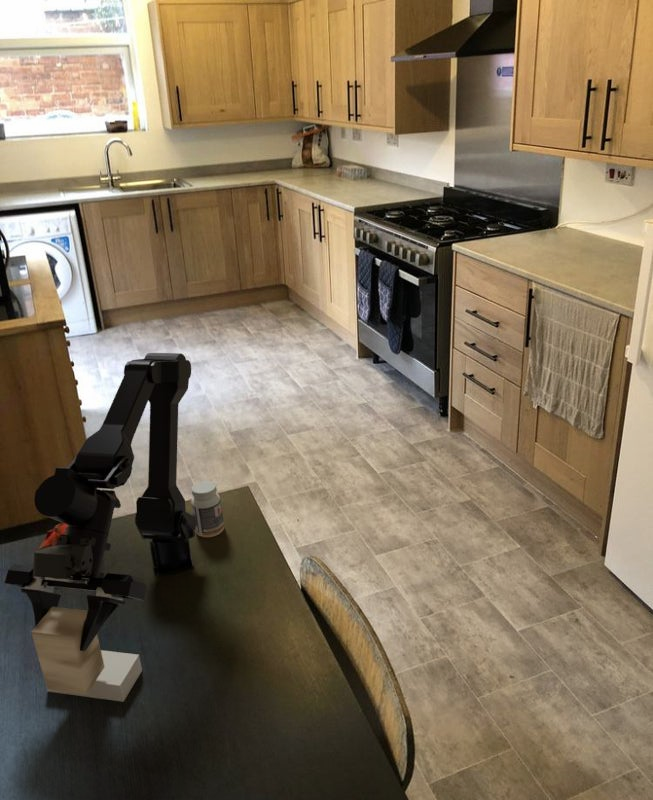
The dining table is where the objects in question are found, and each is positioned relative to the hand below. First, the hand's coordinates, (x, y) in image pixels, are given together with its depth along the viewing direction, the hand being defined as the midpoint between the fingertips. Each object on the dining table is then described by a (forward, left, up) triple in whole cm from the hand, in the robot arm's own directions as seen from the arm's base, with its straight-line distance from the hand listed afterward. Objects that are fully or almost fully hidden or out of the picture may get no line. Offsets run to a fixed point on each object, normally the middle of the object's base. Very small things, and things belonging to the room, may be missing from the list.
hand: (61, 648), depth 94 cm
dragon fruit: (+1, -38, -11) cm, 39 cm away
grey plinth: (-3, -5, -11) cm, 12 cm away
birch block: (-1, -1, -7) cm, 7 cm away
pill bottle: (-25, -38, -11) cm, 47 cm away
